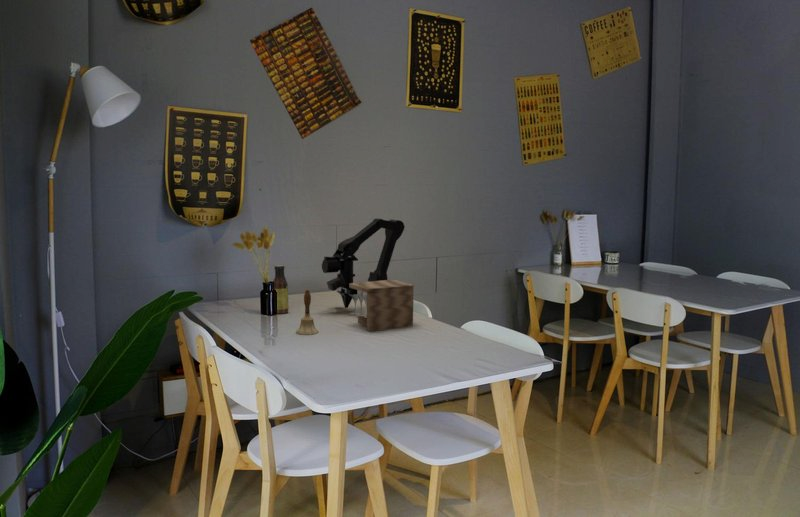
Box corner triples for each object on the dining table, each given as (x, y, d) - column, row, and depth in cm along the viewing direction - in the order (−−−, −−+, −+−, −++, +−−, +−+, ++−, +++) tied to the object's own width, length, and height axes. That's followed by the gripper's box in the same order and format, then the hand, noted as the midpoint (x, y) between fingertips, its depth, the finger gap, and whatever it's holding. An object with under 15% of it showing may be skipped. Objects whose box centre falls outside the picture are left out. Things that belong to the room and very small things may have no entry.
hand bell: (322, 331, 251) (322, 289, 248) (310, 336, 243) (310, 292, 241) (303, 328, 254) (303, 287, 252) (291, 333, 247) (291, 290, 244)
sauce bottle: (291, 312, 281) (291, 265, 279) (279, 314, 277) (278, 267, 274) (282, 310, 286) (281, 264, 283) (269, 312, 281) (269, 265, 278)
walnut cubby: (392, 318, 274) (392, 279, 272) (412, 325, 261) (413, 285, 259) (349, 323, 263) (349, 283, 261) (368, 331, 250) (369, 289, 248)
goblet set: (389, 326, 260) (389, 292, 258) (375, 327, 257) (376, 293, 255) (358, 312, 284) (358, 281, 282) (346, 313, 282) (346, 282, 280)
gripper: (319, 269, 286) (319, 305, 288) (340, 276, 271) (339, 313, 273) (342, 268, 292) (342, 303, 294) (363, 274, 277) (363, 311, 279)
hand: (346, 307), depth 285 cm, fingers closed, pressing on goblet set
